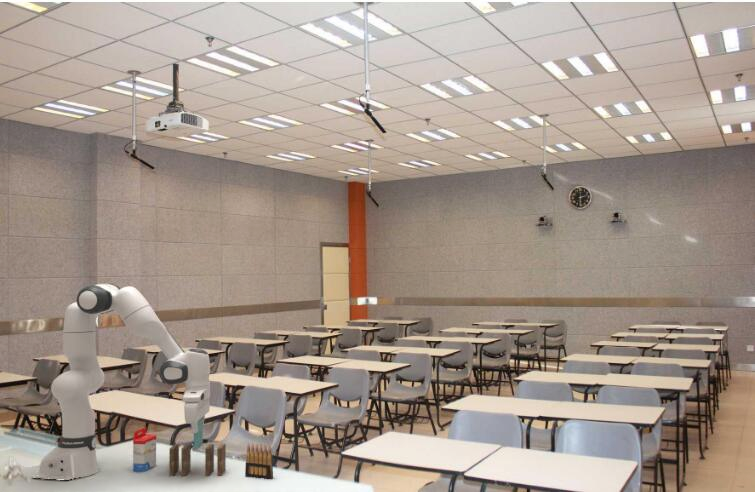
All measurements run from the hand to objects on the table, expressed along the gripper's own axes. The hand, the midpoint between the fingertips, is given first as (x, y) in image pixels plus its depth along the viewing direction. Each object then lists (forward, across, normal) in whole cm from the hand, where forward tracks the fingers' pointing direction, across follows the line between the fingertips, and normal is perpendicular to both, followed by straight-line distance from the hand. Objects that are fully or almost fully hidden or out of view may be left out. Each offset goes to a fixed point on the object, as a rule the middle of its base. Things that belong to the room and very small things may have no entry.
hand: (198, 430), depth 235 cm
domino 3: (+6, 0, 0) cm, 6 cm away
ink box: (+16, -7, -22) cm, 29 cm away
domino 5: (+16, 0, +9) cm, 18 cm away
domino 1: (+16, 0, -9) cm, 18 cm away
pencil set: (+16, +5, +24) cm, 29 cm away
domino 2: (+16, 0, -5) cm, 17 cm away
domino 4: (+16, 0, +4) cm, 17 cm away
